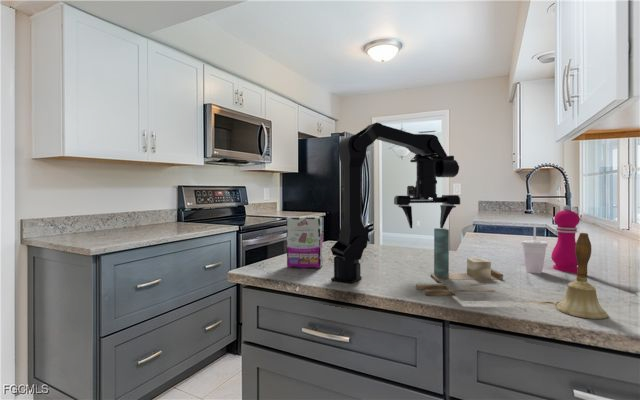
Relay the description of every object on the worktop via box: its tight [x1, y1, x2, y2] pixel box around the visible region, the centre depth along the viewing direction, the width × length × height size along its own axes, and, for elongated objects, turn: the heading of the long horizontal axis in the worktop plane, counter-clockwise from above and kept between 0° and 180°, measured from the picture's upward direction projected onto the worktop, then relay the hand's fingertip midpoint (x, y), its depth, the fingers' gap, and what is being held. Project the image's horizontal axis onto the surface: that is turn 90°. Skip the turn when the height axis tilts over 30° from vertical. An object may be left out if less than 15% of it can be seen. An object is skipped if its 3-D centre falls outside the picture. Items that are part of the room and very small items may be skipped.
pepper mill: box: [550, 204, 580, 275], centre depth 99 cm, size 7×7×20 cm
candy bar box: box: [285, 215, 324, 269], centre depth 109 cm, size 11×5×16 cm, turn 80°
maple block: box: [466, 257, 492, 279], centre depth 91 cm, size 4×4×4 cm
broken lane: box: [415, 282, 496, 297], centre depth 82 cm, size 18×7×1 cm, turn 87°
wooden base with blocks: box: [430, 228, 504, 284], centre depth 91 cm, size 17×6×14 cm, turn 87°
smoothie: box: [521, 226, 548, 274], centre depth 96 cm, size 6×6×14 cm
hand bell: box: [555, 232, 609, 320], centre depth 67 cm, size 8×8×16 cm
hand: (426, 228), depth 103 cm, fingers open, 9 cm apart
